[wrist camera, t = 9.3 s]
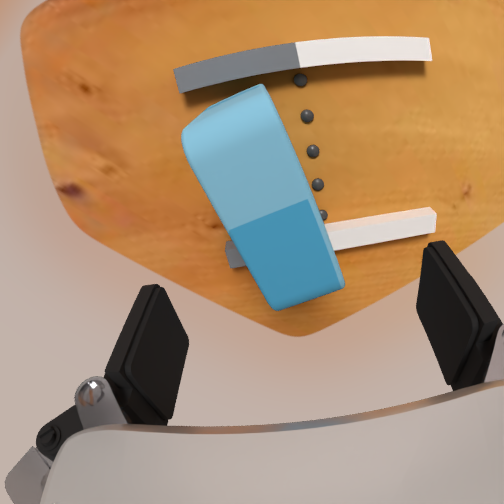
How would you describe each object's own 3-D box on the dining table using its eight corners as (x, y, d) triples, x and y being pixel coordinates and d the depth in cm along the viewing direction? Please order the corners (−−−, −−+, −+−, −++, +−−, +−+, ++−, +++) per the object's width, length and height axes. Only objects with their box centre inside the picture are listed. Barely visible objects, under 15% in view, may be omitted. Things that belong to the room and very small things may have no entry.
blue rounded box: (209, 105, 23) (172, 137, 13) (262, 81, 22) (268, 92, 12) (270, 226, 29) (278, 323, 19) (317, 208, 28) (350, 298, 18)
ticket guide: (420, 38, 19) (428, 37, 18) (428, 224, 28) (434, 232, 27) (177, 69, 21) (173, 69, 20) (231, 259, 31) (230, 268, 29)
